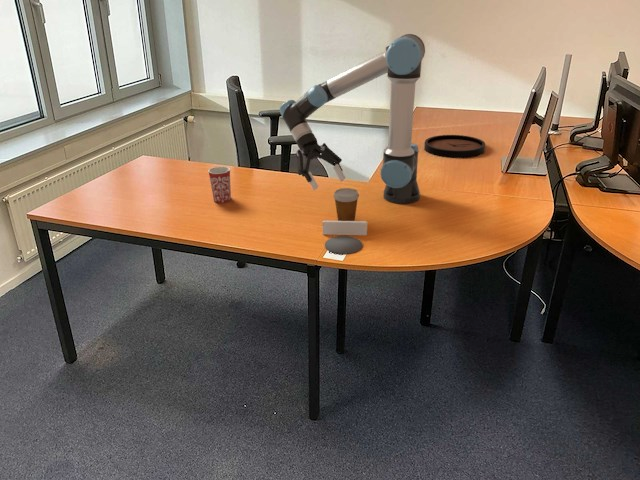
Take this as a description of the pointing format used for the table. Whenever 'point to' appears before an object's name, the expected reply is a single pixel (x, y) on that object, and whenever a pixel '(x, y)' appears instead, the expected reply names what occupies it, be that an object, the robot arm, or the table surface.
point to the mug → (220, 183)
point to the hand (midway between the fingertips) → (330, 184)
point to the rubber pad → (343, 245)
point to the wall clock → (454, 146)
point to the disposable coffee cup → (346, 203)
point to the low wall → (344, 227)
